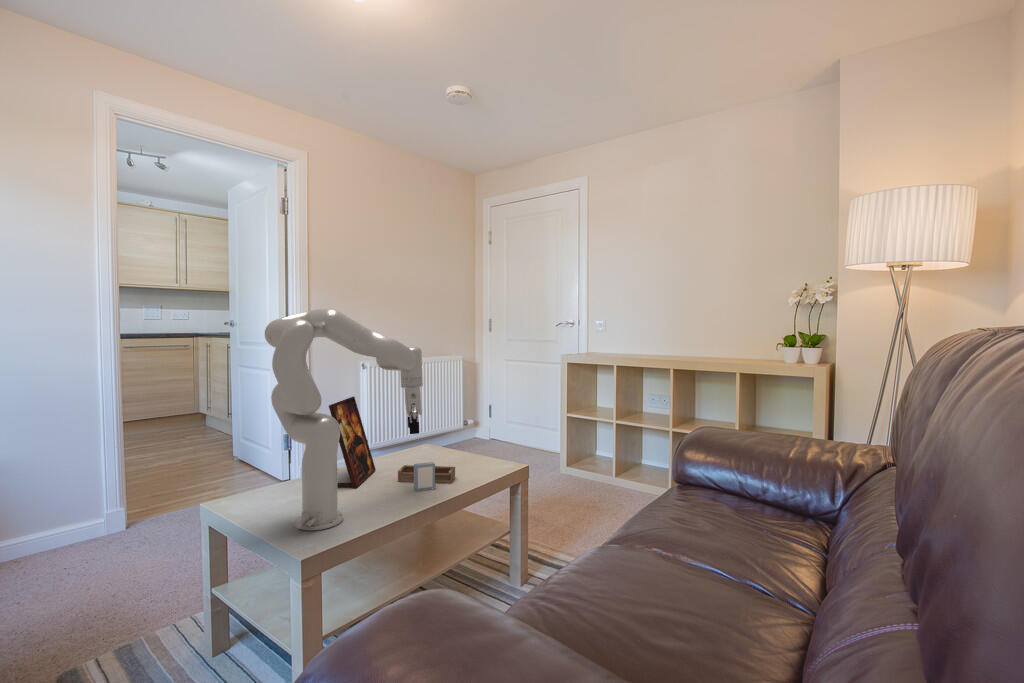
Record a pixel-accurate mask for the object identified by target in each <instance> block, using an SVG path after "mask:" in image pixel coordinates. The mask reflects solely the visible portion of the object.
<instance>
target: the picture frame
mask: <svg viewBox="0 0 1024 683" xmlns="http://www.w3.org/2000/svg"><path fill="white" fill-rule="evenodd" d="M328 409H329V412H330V416H332V417H333V418H335V419H336V420H337V422H338V423H339V426H340V439H339V447H340V450H341V453H342V457H343V459H344V463H345V467H346V471H347V473H348V477H349V481H350V482H337V488H347V487H348V488H349V487H350V488H352V489H356V488H358V487H359V486H361V484H363V483H364V482H365V481H366V480H367V479H368V478H369V477H370V476H371V475H372V474H373V473H374V472H376V471H377V469H376V466H375V463H374V459H373V455H372V453H371V449H370V445H369V442H368V438H367V436H366V432H365V428H364V424H363V422H362V418H361V415H360V412H359V408H358V404H357V400H356V398H355V395H354V396H350V397H347V398H345V399H342V400H340V401H338V402H335V403H332V404H329V405H328Z"/></svg>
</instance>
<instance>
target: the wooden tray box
mask: <svg viewBox="0 0 1024 683" xmlns="http://www.w3.org/2000/svg"><path fill="white" fill-rule="evenodd" d="M454 478H455V479H456V466H444V465H440V466H439V465H435V484H445V483H451V482H452V483H453V481H454V480H455V479H454ZM453 479H454V480H453ZM397 482H398V483H414V465H407V464H406V465H405V464H404V465H403V466H401V468H399V469H398V470H397ZM452 483H451V484H452Z"/></svg>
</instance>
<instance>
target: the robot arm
mask: <svg viewBox="0 0 1024 683" xmlns="http://www.w3.org/2000/svg"><path fill="white" fill-rule="evenodd" d="M315 338H326V339H329V340H330V341H332V342H334V343H336V344H338V345H340V346H341V347H343V348H344V349H347V350H349V351H351V352H353V353H355V354H358V355H362V356H366V357H372V358H375V360H376V364H377V365H378V367H379V368H380V369H383V370H386V371H395V372H397V371H399V372H400V388H403V389H404V402H405V403H404V404H405V405H404V406H405V410H406V415H407V428H408V429H409V434H410V435H417V434H420V421H419V416H422V412H423V410H422V396H421V395H422V394H421V387H423V386H424V382H423V358H422V356H423V354H422V349H421V348H420V347H418V346H417V347H416V346H407V345H404V344H403V343H401V342H399V341H398V340H396V339H394V338H391V337H389V336H387V335H384V334H382V333H379V332H377V331H374V330H372V329H369V328H367V327H366V326H364V325H362V324H361V323H359V322H357V321H356V320H354V319H352V318H350V317H349V316H347V315H346V314H344V313H342V311H341V312H340V311H338V310H336V309H333V308H321V309H312V310H309V311H305V312H301V313H296V314H293V315H289V316H285V317H281V318H277V319H273V320H272V321H270V322H269V323H268V324H267V326H266V327H265V329H264V339H265V340H266V342H267V344H269V346H271V347H273V348H275V349H274V352H273V356H272V362H271V367H272V371H273V374H274V377H275V379H276V381H277V384H276V385H275V386H274V388H273V390H272V392H271V395H270V398H271V405H272V407H273V409H274V412H275V414H276V416H277V418H278V420H279V421H280V423H281V425H282V427H283V429H284V430H285V433H286V434H287V436H288V437H289V438H290V439H291V440H292V441H294V442H297V443H299V444H303V445H305V448H304V451H303V455H302V459H301V488H302V489H301V491H302V492H301V498H302V499H301V505H302V507H301V508H302V509H301V510H302V511H301V516H300V517H298V518H297V520H296V521H295V524H294V527H295V528H296V529H298V530H299V529H300V530H303V531H309V532H310V531H311V532H312V531H321V530H325V529H330V528H333V527H335V526H337V525H339V524H340V523H342V522H343V521H344V514H343V513H342V512H341V511H339V509H338V504H339V503H338V495H339V494H338V487H337V483H338V453H339V452H338V449H339V445H340V443H339V439H340V426H339V423H338V422H337V420H336V419H335V418H333V417H332V416H331V415H329V414H326V413H320V412H317V411H319V410H320V409H321V405H322V401H323V399H322V395H321V393H320V391H319V388H318V386H317V384H316V382H315V380H314V377H313V376H312V374H311V371H310V369H309V367H308V363H307V354H308V351H309V348H310V346H311V345H312V343H313V341H314V339H315Z"/></svg>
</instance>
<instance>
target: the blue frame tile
mask: <svg viewBox="0 0 1024 683" xmlns="http://www.w3.org/2000/svg"><path fill="white" fill-rule="evenodd" d="M413 466H414V482H413V490H414V492H420V491H419V490H423V491H426V490H425V489H430V490H433V489H432V488H435V489H436V483H435V466H436V463H435V462H434V461H428V462H420V463H413Z"/></svg>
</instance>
